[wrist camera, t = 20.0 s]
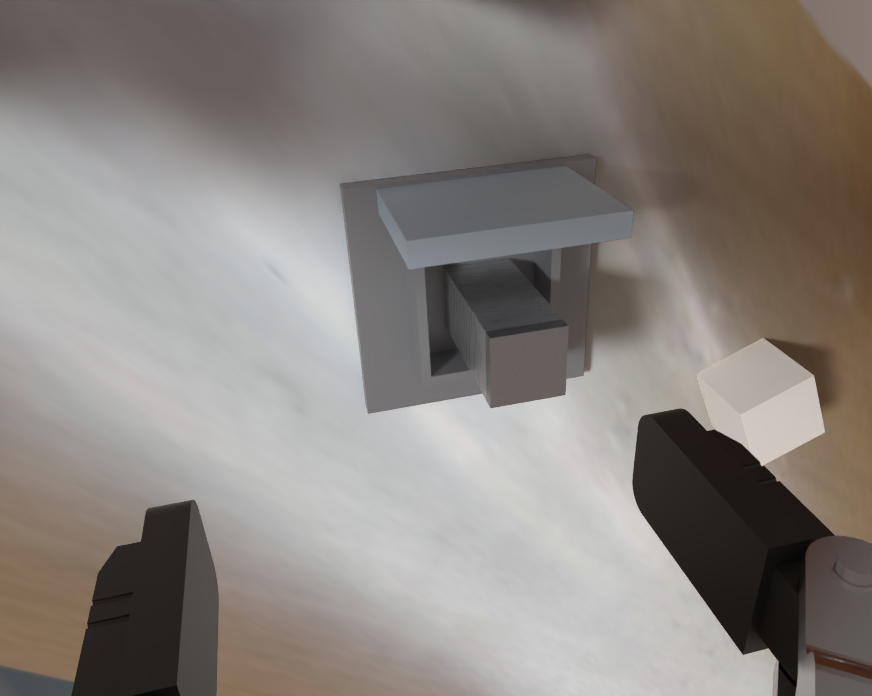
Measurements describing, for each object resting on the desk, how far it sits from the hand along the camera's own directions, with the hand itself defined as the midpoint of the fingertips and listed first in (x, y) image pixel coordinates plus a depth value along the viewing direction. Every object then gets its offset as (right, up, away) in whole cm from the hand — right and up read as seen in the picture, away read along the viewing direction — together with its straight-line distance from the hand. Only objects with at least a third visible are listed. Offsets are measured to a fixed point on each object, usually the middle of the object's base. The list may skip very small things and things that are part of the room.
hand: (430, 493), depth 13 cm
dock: (+3, +7, +36) cm, 37 cm away
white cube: (+24, 0, +46) cm, 52 cm away
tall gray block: (+3, +6, +35) cm, 36 cm away
